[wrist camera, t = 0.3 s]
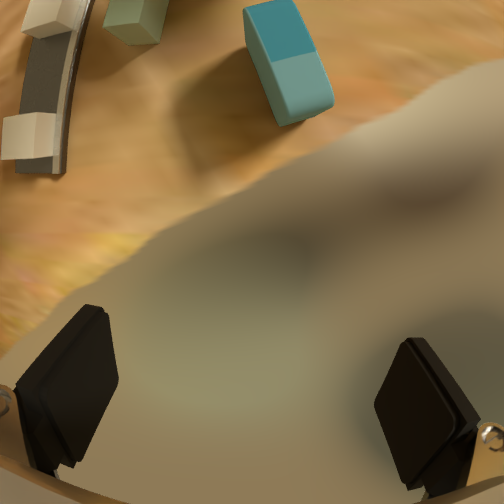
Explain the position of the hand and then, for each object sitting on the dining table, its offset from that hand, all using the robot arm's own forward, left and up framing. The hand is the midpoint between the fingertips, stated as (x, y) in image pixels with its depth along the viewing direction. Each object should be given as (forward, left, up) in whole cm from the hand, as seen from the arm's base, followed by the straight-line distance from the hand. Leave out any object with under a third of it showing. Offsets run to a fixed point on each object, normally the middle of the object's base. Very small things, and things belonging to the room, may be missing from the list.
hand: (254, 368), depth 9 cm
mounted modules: (-17, -32, -29) cm, 46 cm away
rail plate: (-17, -32, -31) cm, 47 cm away
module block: (-24, -17, -31) cm, 42 cm away
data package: (-16, +1, -31) cm, 35 cm away
